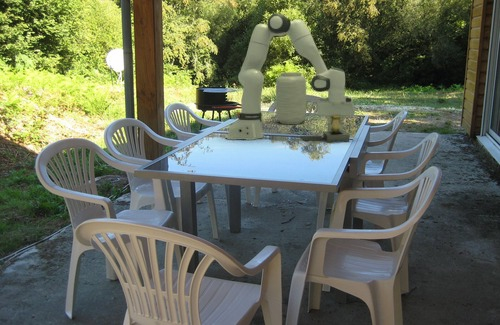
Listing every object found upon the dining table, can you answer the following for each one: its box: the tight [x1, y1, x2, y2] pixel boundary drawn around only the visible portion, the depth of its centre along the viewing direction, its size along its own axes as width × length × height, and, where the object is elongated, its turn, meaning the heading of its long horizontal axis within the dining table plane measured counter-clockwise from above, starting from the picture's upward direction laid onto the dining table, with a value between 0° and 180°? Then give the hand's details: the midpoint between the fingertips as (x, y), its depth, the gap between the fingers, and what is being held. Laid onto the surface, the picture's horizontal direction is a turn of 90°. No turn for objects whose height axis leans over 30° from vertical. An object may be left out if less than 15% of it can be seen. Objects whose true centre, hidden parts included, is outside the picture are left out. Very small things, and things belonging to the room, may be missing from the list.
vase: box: [275, 71, 307, 125], centre depth 334 cm, size 20×20×34 cm
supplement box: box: [327, 116, 344, 131], centre depth 293 cm, size 9×9×15 cm
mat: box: [300, 135, 325, 142], centre depth 279 cm, size 12×12×1 cm
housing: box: [322, 130, 350, 143], centre depth 273 cm, size 12×12×4 cm
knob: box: [330, 115, 341, 134], centre depth 272 cm, size 6×6×11 cm
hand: (335, 123), depth 272 cm, fingers closed on knob, 5 cm apart
